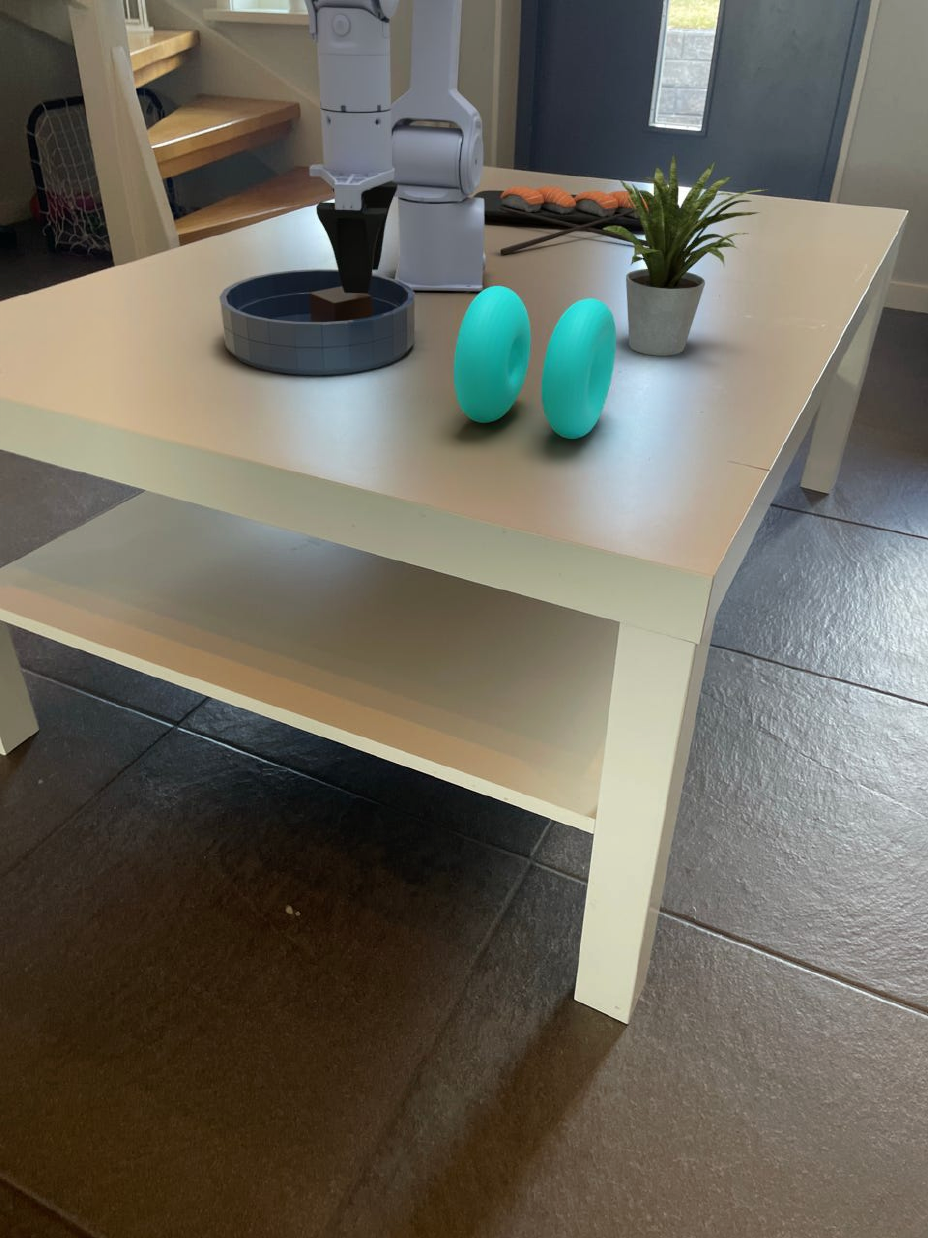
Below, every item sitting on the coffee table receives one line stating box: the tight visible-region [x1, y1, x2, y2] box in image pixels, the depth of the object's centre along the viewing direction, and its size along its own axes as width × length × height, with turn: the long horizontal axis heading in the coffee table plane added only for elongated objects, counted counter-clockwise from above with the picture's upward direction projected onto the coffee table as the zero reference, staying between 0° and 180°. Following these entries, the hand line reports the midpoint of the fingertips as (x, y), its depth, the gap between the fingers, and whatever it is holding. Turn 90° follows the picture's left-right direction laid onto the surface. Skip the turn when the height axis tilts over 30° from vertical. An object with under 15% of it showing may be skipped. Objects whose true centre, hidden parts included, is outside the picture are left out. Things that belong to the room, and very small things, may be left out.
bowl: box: [218, 268, 416, 376], centre depth 89 cm, size 17×17×4 cm
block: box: [309, 286, 372, 322], centre depth 88 cm, size 4×4×4 cm
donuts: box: [453, 285, 617, 440], centre depth 72 cm, size 10×10×10 cm
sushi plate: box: [472, 186, 681, 255], centre depth 129 cm, size 29×30×4 cm
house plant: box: [602, 154, 771, 357], centre depth 86 cm, size 14×14×16 cm
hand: (361, 280), depth 87 cm, fingers open, 7 cm apart
